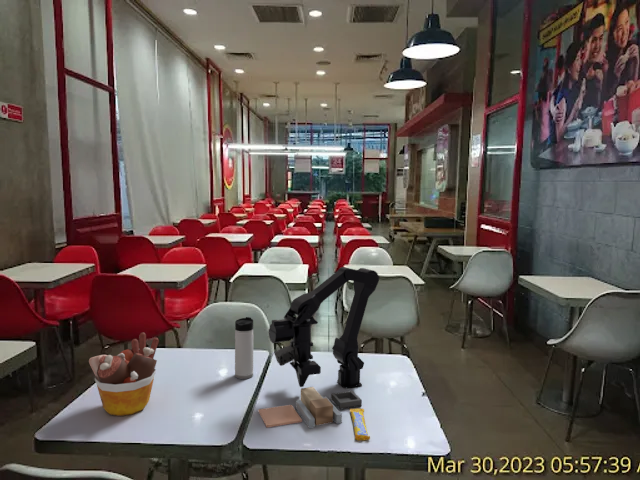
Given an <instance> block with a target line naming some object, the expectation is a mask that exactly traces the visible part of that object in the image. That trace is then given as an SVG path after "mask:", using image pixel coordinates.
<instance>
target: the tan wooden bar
mask: <svg viewBox="0 0 640 480" xmlns="http://www.w3.org/2000/svg"><path fill="white" fill-rule="evenodd" d="M322 397H323V396H322V395H321V393H319V392H318V390H316V388H315V387H314V386H310V387H300V400H301V401H302V402H303V404H304V405H305V406H306V408H307V409H308V410H309V412H310V400H317V399H323V398H322Z"/></svg>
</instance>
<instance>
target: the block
mask: <svg viewBox="0 0 640 480" xmlns="http://www.w3.org/2000/svg"><path fill="white" fill-rule="evenodd" d="M327 398H328V397H327ZM327 398H324V399H317V400H310V413H311V414H312V416H313V417H314V418H315V426H321V425H327V424H333V423H334V420H333V405H334V404H333V403H332V402H331V400H330V399H329V398H328V399H329V400H330V401H329V400H328V399H327ZM330 402H331V403H332V404H333V405H332V404H331V403H330Z"/></svg>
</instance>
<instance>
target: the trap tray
mask: <svg viewBox="0 0 640 480" xmlns="http://www.w3.org/2000/svg"><path fill="white" fill-rule="evenodd" d="M330 394H331V396H330V398H331V399H330V401H331V402H332V403H333V404H334V406H335V407H336V408H337V409H339V411H340V410H346V409H355V408H358V407H359V408H360V407H362V405H363V403H362V402H363V400H362V398H360V397H359V396H358V395H357V393H355V392H354V391H353V390H348V391H340V392H339V391H338V392H333V393H330Z"/></svg>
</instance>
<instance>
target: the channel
mask: <svg viewBox="0 0 640 480" xmlns="http://www.w3.org/2000/svg"><path fill="white" fill-rule="evenodd" d="M322 398H323V399H324V398H327V399H328V400H329V401H330V403H331V404H332V405H333V422H335V424H342V421H343V414H342V413H341V411H340V409H339V408H338V407H337V406H336V405H335V404H334V403H333V402H332V401H331V399H329V398H328V397H327V396H322ZM338 409H339V410H338ZM295 410H296V412H297V413H298V415H299V416H300V418H301V419H302V421H304V423H305V425H306V426H307V427H308V429H315V426H316V425H315V418H314V417H313V416H312V414H311V413H310V412H309V410H308V409H307V408H306V406H305V405H304V404H303V402H302V401H301V399H299V400H296V401H295Z"/></svg>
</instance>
